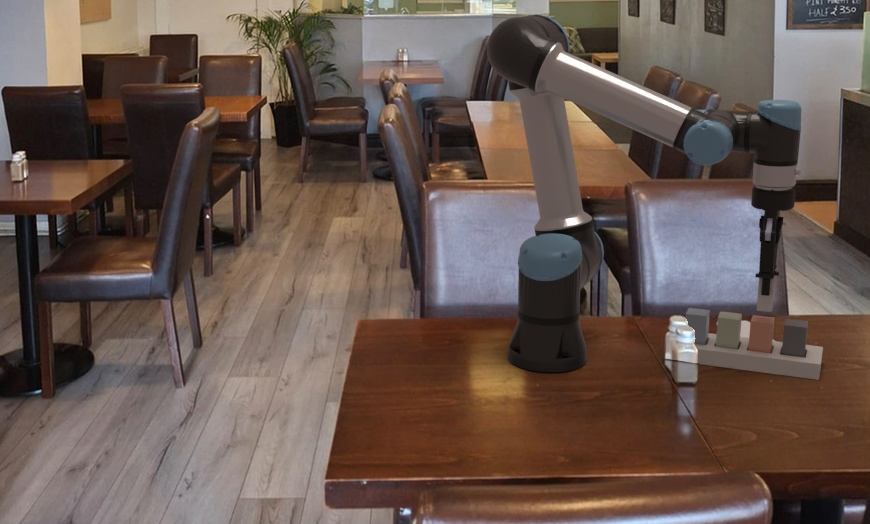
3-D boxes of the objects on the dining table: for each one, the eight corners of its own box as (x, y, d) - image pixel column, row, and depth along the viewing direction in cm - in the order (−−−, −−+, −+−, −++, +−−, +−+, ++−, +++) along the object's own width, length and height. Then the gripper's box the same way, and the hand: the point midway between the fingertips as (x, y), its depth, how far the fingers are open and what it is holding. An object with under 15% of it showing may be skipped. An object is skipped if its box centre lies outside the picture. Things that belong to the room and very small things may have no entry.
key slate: (683, 343, 201) (685, 313, 199) (687, 336, 204) (688, 307, 203) (704, 346, 199) (706, 316, 197) (707, 339, 203) (709, 310, 201)
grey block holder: (664, 359, 200) (665, 344, 199) (673, 343, 209) (674, 329, 208) (819, 379, 189) (820, 364, 189) (821, 361, 198) (823, 346, 198)
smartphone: (746, 346, 206) (714, 322, 220) (745, 350, 206) (714, 325, 220) (780, 344, 207) (747, 320, 221) (780, 348, 207) (746, 323, 221)
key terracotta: (748, 351, 196) (750, 321, 195) (750, 344, 200) (752, 315, 198) (770, 354, 195) (772, 323, 193) (772, 347, 198) (774, 317, 197)
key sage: (715, 347, 198) (717, 317, 197) (718, 340, 202) (720, 311, 200) (737, 350, 197) (739, 319, 195) (739, 343, 200) (741, 313, 199)
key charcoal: (781, 355, 194) (784, 325, 192) (783, 348, 198) (785, 318, 196) (804, 358, 192) (807, 327, 191) (805, 351, 196) (808, 321, 194)
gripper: (793, 194, 182) (782, 322, 188) (798, 181, 193) (788, 302, 199) (748, 191, 184) (739, 318, 191) (756, 178, 196) (747, 298, 202)
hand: (764, 310), depth 195 cm, fingers closed
